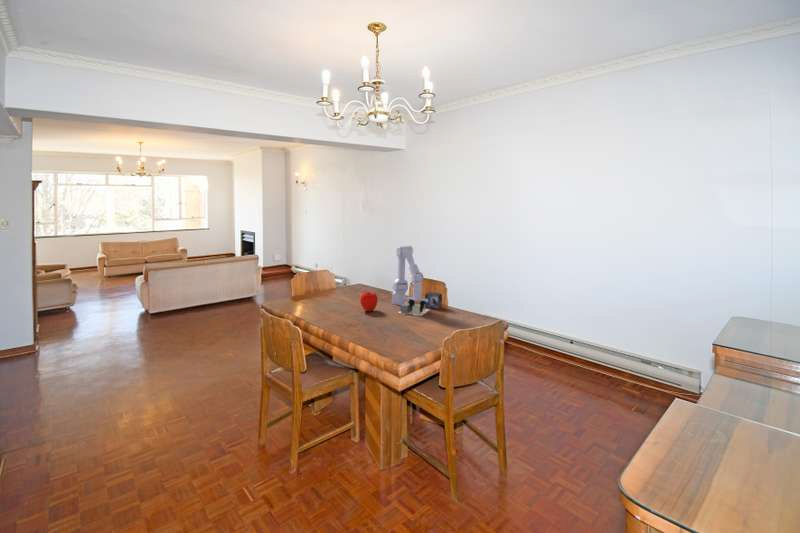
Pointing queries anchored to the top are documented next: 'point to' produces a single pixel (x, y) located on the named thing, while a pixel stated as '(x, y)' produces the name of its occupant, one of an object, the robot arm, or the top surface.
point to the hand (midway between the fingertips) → (417, 311)
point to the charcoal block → (405, 308)
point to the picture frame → (433, 300)
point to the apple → (368, 301)
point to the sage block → (416, 309)
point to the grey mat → (417, 314)
